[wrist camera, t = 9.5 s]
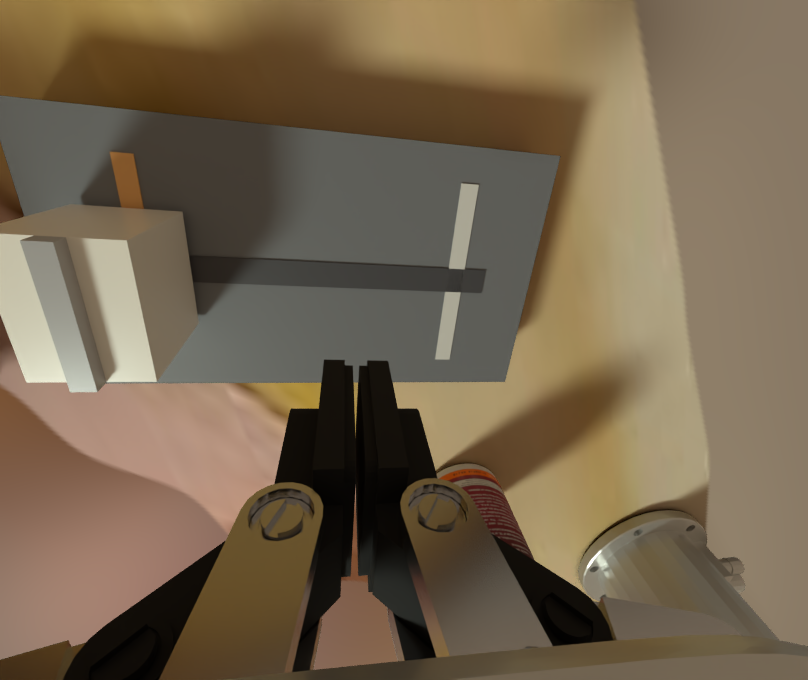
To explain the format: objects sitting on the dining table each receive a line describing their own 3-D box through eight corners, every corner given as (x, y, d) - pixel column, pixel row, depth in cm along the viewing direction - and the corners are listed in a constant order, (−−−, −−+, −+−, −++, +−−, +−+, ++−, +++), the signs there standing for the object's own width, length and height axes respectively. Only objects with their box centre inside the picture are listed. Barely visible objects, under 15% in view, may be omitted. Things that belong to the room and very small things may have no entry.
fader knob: (182, 211, 16) (117, 245, 11) (198, 322, 18) (150, 391, 14) (71, 204, 16) (-51, 236, 11) (102, 321, 18) (13, 392, 13)
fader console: (531, 153, 21) (561, 156, 18) (487, 356, 26) (505, 382, 23) (40, 100, 17) (-17, 93, 14) (108, 353, 22) (76, 384, 19)
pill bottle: (417, 467, 29) (458, 630, 20) (498, 453, 30) (575, 605, 20) (421, 523, 32) (458, 689, 23) (494, 509, 33) (561, 665, 23)
